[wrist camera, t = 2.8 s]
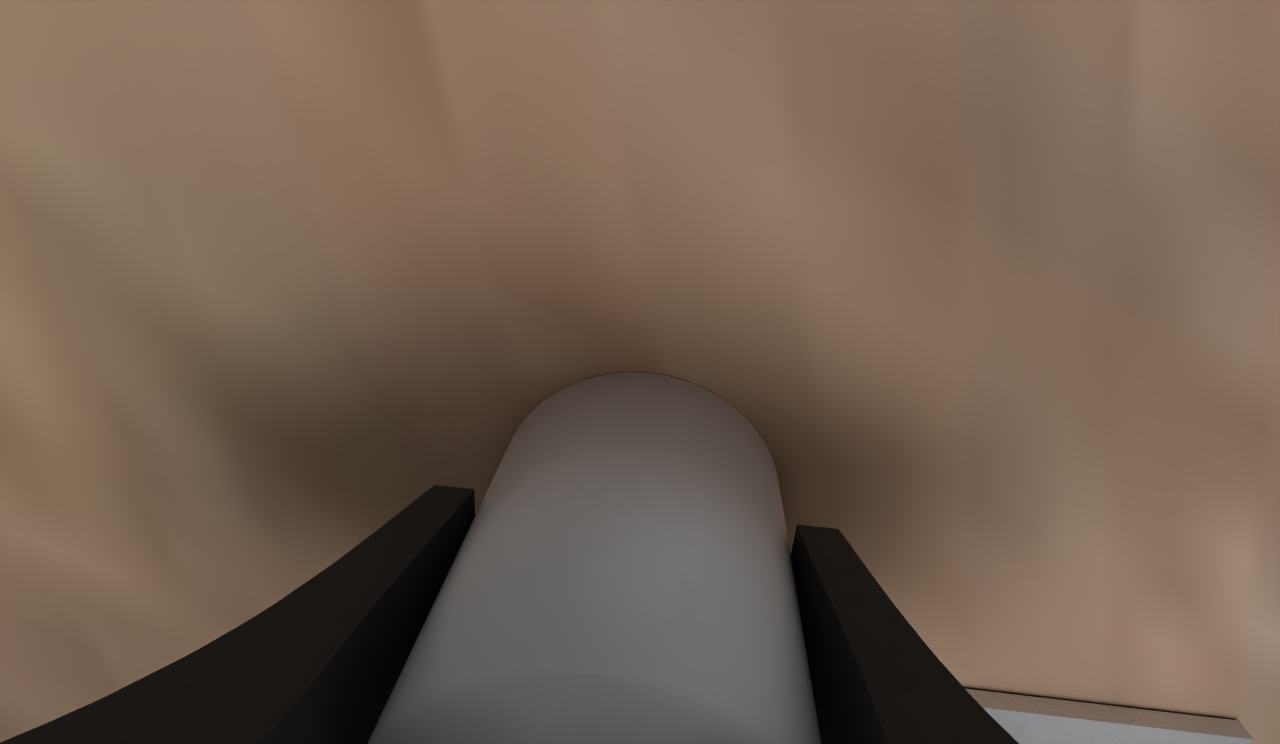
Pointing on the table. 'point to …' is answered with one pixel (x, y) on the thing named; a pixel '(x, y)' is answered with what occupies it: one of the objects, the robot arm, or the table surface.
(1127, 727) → the duct collar
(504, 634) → the grey cylinder
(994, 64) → the table surface
